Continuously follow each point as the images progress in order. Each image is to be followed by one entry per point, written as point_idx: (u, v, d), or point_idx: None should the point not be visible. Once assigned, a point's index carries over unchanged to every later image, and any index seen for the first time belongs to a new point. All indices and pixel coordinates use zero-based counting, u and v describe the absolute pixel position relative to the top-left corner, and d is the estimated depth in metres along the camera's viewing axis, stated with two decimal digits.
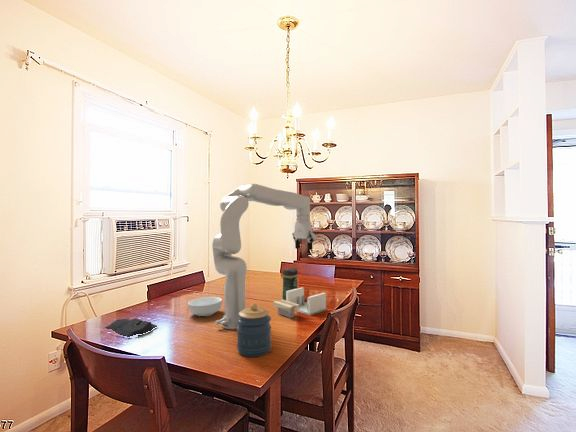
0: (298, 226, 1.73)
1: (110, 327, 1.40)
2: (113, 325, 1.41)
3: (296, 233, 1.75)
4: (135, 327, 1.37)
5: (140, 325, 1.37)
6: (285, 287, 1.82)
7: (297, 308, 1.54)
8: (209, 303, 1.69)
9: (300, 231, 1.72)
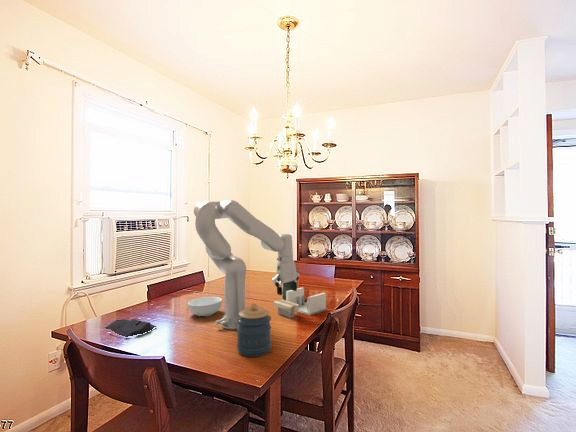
0: (288, 268, 1.55)
1: (109, 327, 1.40)
2: (112, 325, 1.41)
3: (285, 276, 1.54)
4: (134, 327, 1.36)
5: (139, 325, 1.37)
6: (285, 287, 1.82)
7: (297, 308, 1.54)
8: (209, 303, 1.69)
9: (290, 273, 1.56)
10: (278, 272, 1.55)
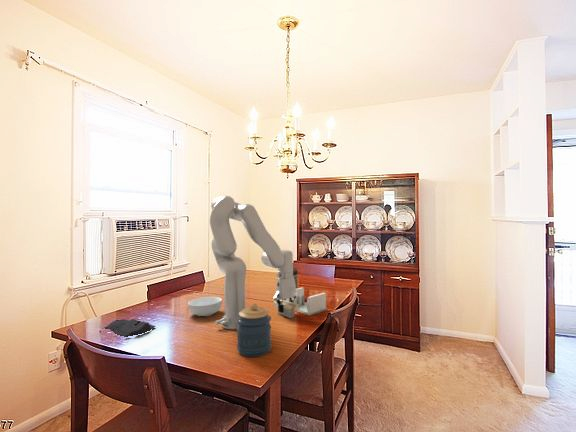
0: (287, 284, 1.55)
1: (108, 327, 1.40)
2: (111, 325, 1.41)
3: (285, 293, 1.54)
4: (133, 327, 1.36)
5: (138, 326, 1.37)
6: None
7: (297, 308, 1.54)
8: (209, 303, 1.69)
9: (290, 289, 1.56)
10: (277, 288, 1.55)
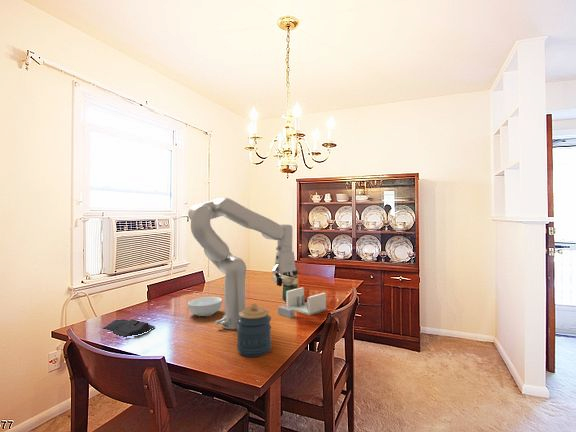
0: (286, 258, 1.55)
1: (107, 328, 1.40)
2: (111, 326, 1.41)
3: (284, 266, 1.54)
4: (132, 328, 1.36)
5: (137, 326, 1.37)
6: (285, 287, 1.82)
7: (295, 282, 1.54)
8: (209, 303, 1.69)
9: (289, 263, 1.56)
10: (276, 261, 1.54)
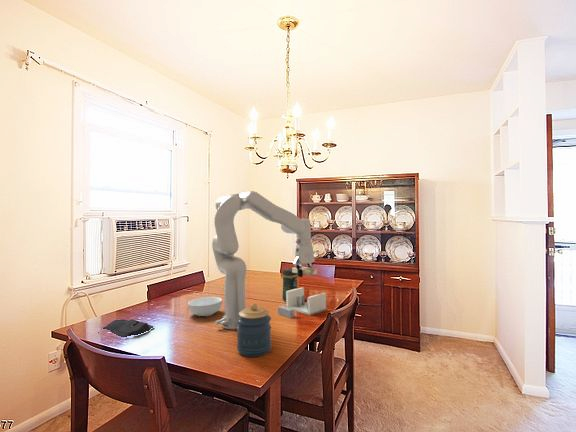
0: (306, 250, 1.64)
1: (107, 328, 1.40)
2: (110, 326, 1.41)
3: (304, 258, 1.63)
4: (132, 328, 1.36)
5: (136, 326, 1.36)
6: (285, 287, 1.82)
7: (315, 272, 1.63)
8: (209, 303, 1.69)
9: (308, 255, 1.65)
10: (297, 254, 1.63)
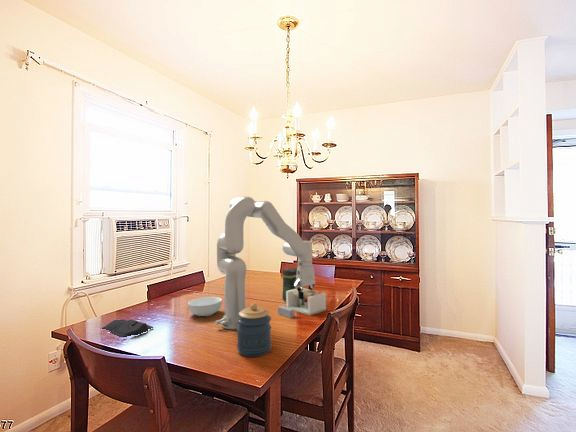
0: (307, 273, 1.64)
1: (106, 328, 1.40)
2: (109, 326, 1.41)
3: (305, 281, 1.63)
4: (130, 328, 1.35)
5: (135, 326, 1.36)
6: (285, 287, 1.82)
7: None
8: (209, 303, 1.69)
9: (309, 277, 1.65)
10: (298, 276, 1.64)
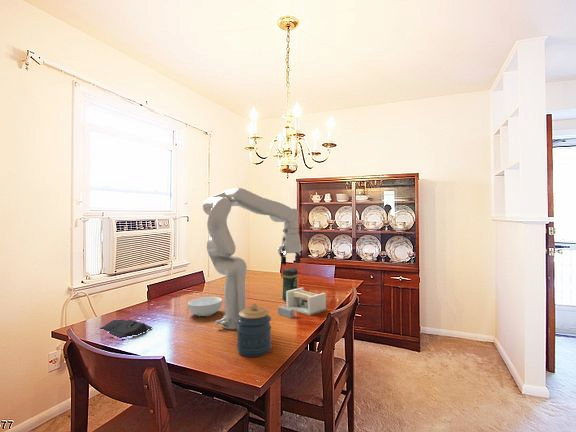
0: (292, 240, 1.65)
1: (105, 328, 1.40)
2: (108, 326, 1.40)
3: (290, 247, 1.64)
4: (129, 328, 1.35)
5: (134, 326, 1.36)
6: (285, 287, 1.82)
7: None
8: (209, 303, 1.69)
9: (294, 245, 1.66)
10: (283, 243, 1.65)
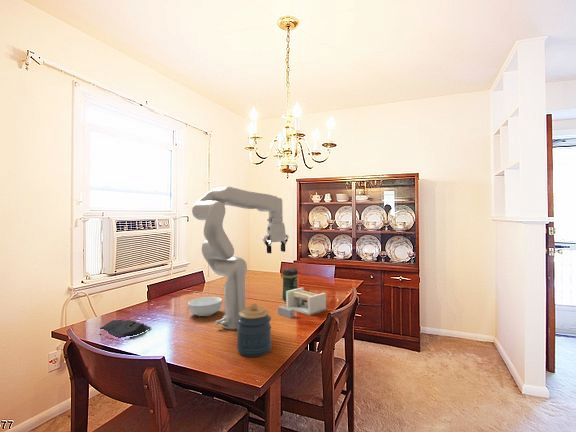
0: (277, 229, 1.66)
1: (104, 328, 1.39)
2: (107, 326, 1.40)
3: (275, 236, 1.65)
4: (128, 328, 1.35)
5: (133, 327, 1.36)
6: (285, 287, 1.82)
7: None
8: (209, 303, 1.69)
9: (279, 233, 1.67)
10: (268, 232, 1.66)
